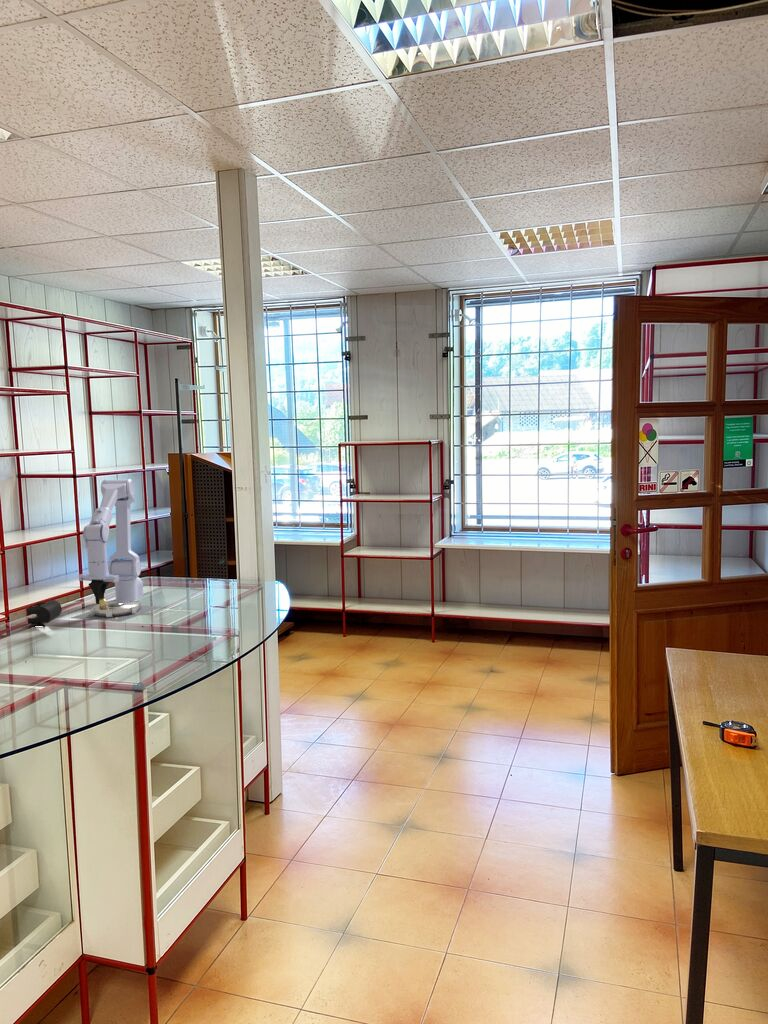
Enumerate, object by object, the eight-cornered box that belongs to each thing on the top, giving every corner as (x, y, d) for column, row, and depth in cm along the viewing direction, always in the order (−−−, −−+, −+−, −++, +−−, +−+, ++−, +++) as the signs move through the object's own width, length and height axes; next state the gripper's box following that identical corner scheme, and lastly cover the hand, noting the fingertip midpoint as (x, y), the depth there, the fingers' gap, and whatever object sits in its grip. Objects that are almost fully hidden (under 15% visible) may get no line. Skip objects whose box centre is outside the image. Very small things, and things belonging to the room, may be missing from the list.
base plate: (113, 608, 249) (113, 603, 249) (161, 611, 243) (161, 606, 242) (70, 622, 231) (69, 617, 231) (121, 626, 224) (120, 621, 224)
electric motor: (51, 627, 226) (49, 606, 225) (27, 628, 225) (25, 607, 224) (62, 619, 236) (61, 599, 235) (40, 620, 235) (38, 600, 234)
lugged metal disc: (116, 604, 246) (115, 589, 246) (150, 608, 239) (149, 592, 239) (81, 614, 233) (80, 598, 233) (117, 618, 227) (116, 602, 226)
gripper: (70, 562, 230) (73, 604, 231) (107, 564, 225) (109, 607, 226) (86, 559, 236) (89, 600, 237) (122, 560, 231) (125, 602, 232)
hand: (100, 603), depth 232 cm, fingers closed, pressing on lugged metal disc
